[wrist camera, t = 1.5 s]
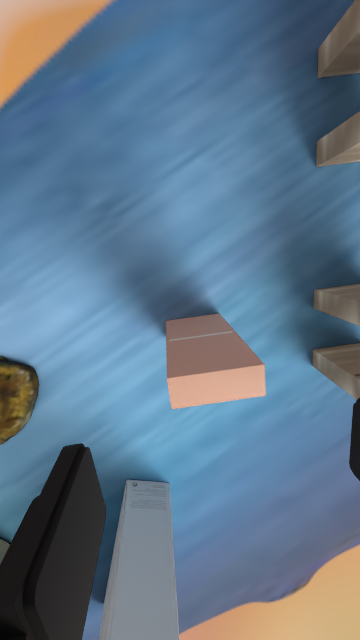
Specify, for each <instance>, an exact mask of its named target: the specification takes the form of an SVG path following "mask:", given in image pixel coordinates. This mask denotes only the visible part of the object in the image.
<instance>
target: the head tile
mask: <svg viewBox="0 0 360 640" xmlns="http://www.w3.org/2000/svg"><path fill="white" fill-rule="evenodd" d="M313 367H315V368H316V369H317V370H318V371H320V372H321V373H322V374H324V375H325V376H326V377H328V378H329V379H330V380H331V381H333V382H334V383H335V384H337V385H338V386H339V387H341V388H342V389H343V390H344V391H346V392H347V393H348V394H350V395H351V396H352V397H353V398H355V399H356V400H357V399H358V398H360V343H355V344H348V345H341V346H334V347H327V348H320V349H313Z"/></svg>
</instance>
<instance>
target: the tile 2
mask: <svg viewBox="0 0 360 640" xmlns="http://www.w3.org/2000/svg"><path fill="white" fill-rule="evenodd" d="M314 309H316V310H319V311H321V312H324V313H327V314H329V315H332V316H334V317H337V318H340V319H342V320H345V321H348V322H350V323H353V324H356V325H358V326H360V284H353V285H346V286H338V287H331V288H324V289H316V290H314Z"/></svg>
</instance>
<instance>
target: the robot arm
mask: <svg viewBox="0 0 360 640" xmlns="http://www.w3.org/2000/svg"><path fill="white" fill-rule="evenodd" d="M349 464H350V468H351V470H352V472H353V474H354V475H355V476H356V477H357V478H358V480H359V481H360V398H358V399H357V401H356V403H354V405H353V417H352V431H351V446H350V460H349ZM105 518H106V508H105V503H104V500H103V496H102V492H101V488H100V485H99V481H98V477H97V474H96V470H95V466H94V463H93V459H92V455H91V451H90V448H89V447H84V445H83V444H75V445H69V446H65V447H63V449H62V451H61V453H60V455H59V457H58V459H57V461H56V463H55V465H54V467H53V469H52V471H51V473H50V475H49V477H48V479H47V481H46V483H45V485H44V488H43V490H42V492H41V494H40V496H37V497H36V498H35V499H34V500H33V501H32V503H31V505H30V506H29V508H28V510H27V512H26V514H25V516H24V518H23V520H22V522H21V524H20V526H19V528H18V530H17V532H16V534H15V536H14V538H13V540H12V542H11V544H10V546H9V548H8V550H7V552H6V554H5V556H4V558H3V560H2V562H1V564H0V640H82V636H83V631H84V626H85V621H86V616H87V610H88V605H89V600H90V595H91V590H92V585H93V580H94V575H95V570H96V565H97V560H98V554H99V549H100V544H101V539H102V534H103V529H104V524H105Z"/></svg>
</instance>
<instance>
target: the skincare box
mask: <svg viewBox="0 0 360 640" xmlns="http://www.w3.org/2000/svg"><path fill="white" fill-rule="evenodd" d="M99 640H179V627H178V610H177V594H176V581H175V565H174V549H173V531H172V515H171V499H170V483H164V482H153V481H139V480H129V479H128V480H127V481H126V486H125V491H124V497H123V502H122V507H121V512H120V518H119V524H118V529H117V534H116V540H115V545H114V550H113V556H112V562H111V567H110V573H109V578H108V584H107V590H106V595H105V601H104V606H103V613H102V620H101V627H100V634H99Z"/></svg>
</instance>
